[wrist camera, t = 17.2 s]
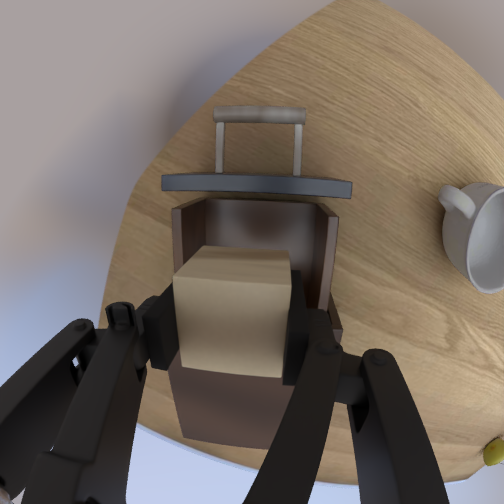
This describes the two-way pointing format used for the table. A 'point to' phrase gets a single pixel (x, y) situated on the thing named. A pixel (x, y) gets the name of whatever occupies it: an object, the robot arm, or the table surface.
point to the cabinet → (233, 401)
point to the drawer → (261, 207)
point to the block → (233, 310)
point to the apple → (494, 452)
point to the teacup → (475, 233)
